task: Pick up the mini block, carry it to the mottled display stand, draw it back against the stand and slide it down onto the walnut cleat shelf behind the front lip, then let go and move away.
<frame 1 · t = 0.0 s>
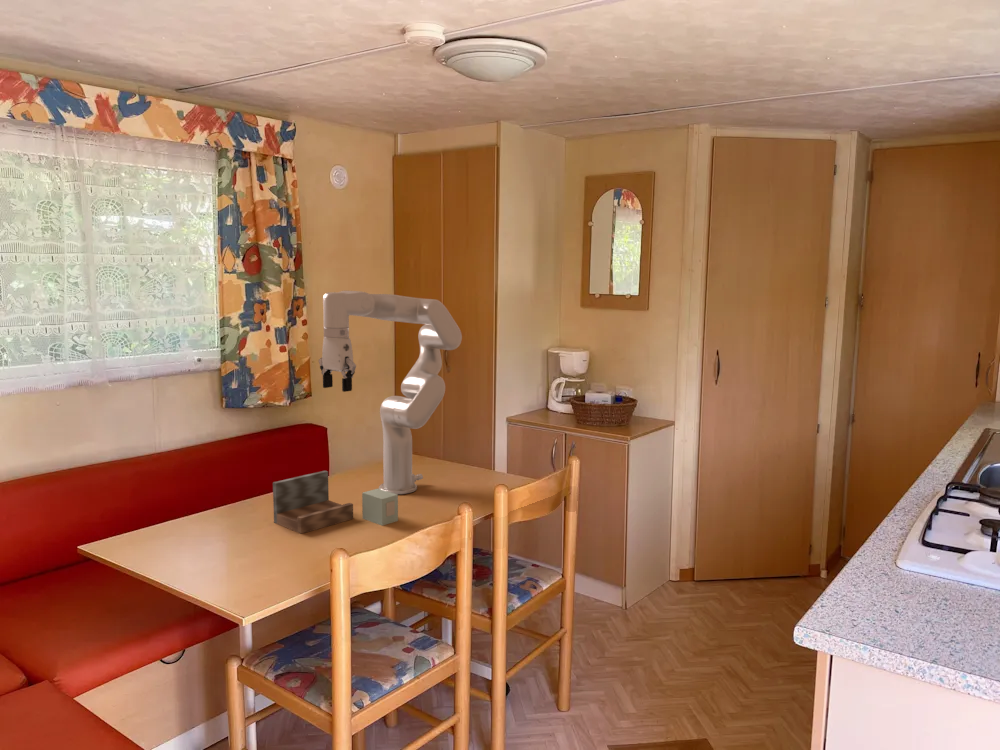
hand: (337, 389, 237), 37 cm above the table, fingers open, 9 cm apart
mini block: (380, 519, 229), on the table
mottled display stand: (310, 519, 228), on the table
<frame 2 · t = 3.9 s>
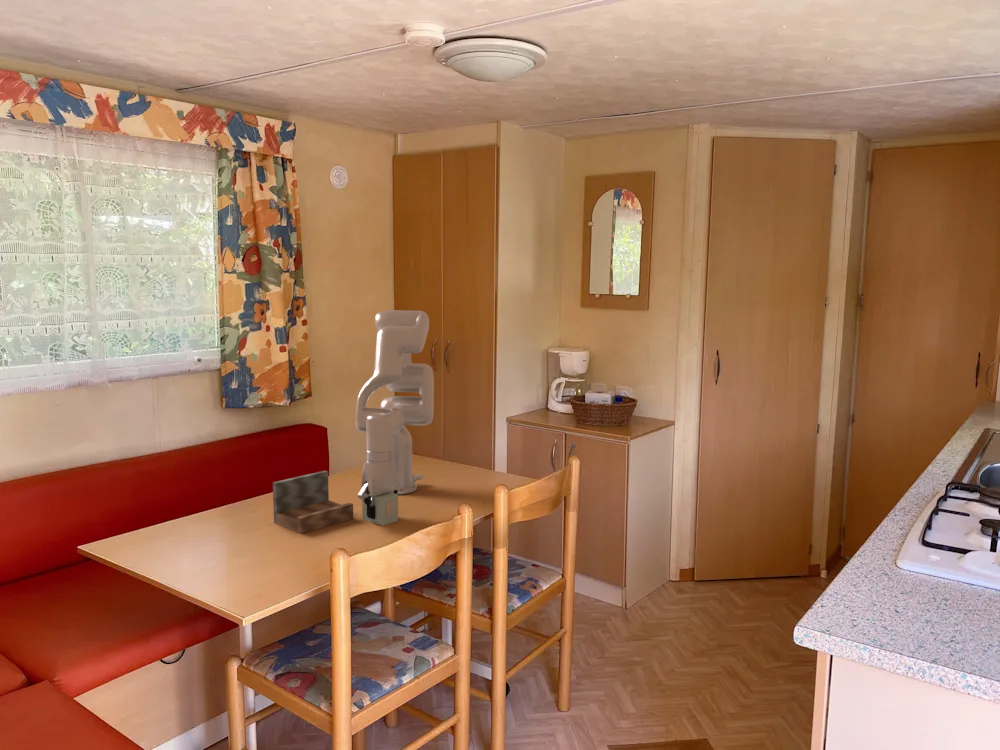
hand: (380, 514, 229), 1 cm above the table, fingers closed on mini block, 6 cm apart
mini block: (380, 519, 229), on the table, touching gripper
when the fingers open (5 cm above the table, at t = 9.6 s): mini block stays where it is, resting on mottled display stand.
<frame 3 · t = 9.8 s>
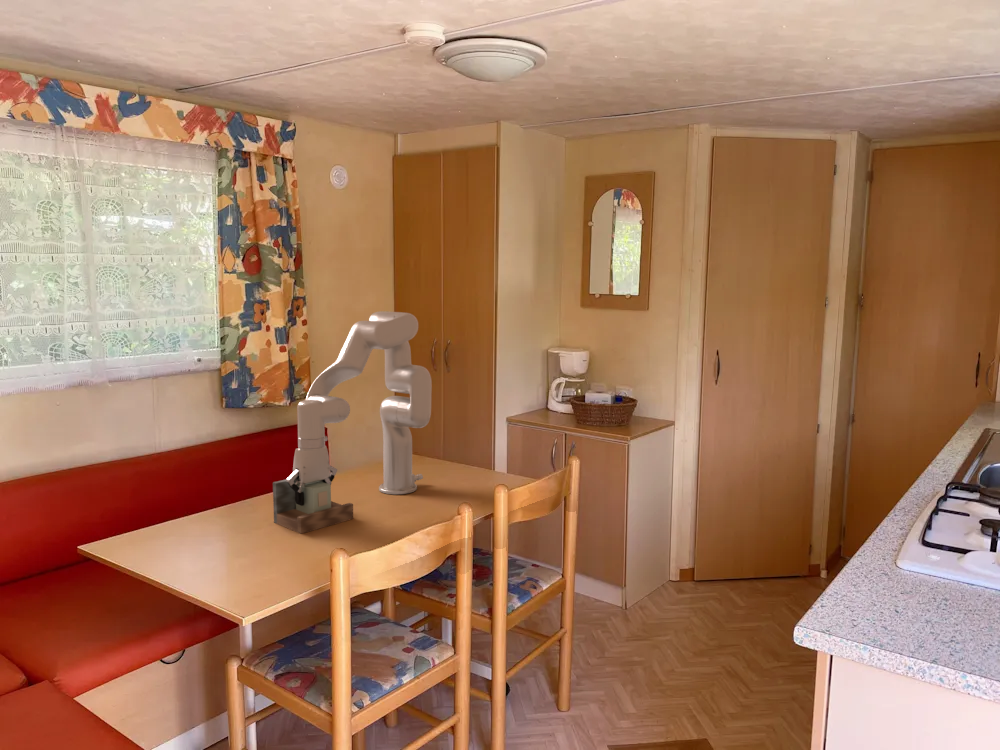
hand: (312, 501, 227), 6 cm above the table, fingers open, 8 cm apart
mini block: (313, 510, 227), point 3 cm above the table, touching mottled display stand
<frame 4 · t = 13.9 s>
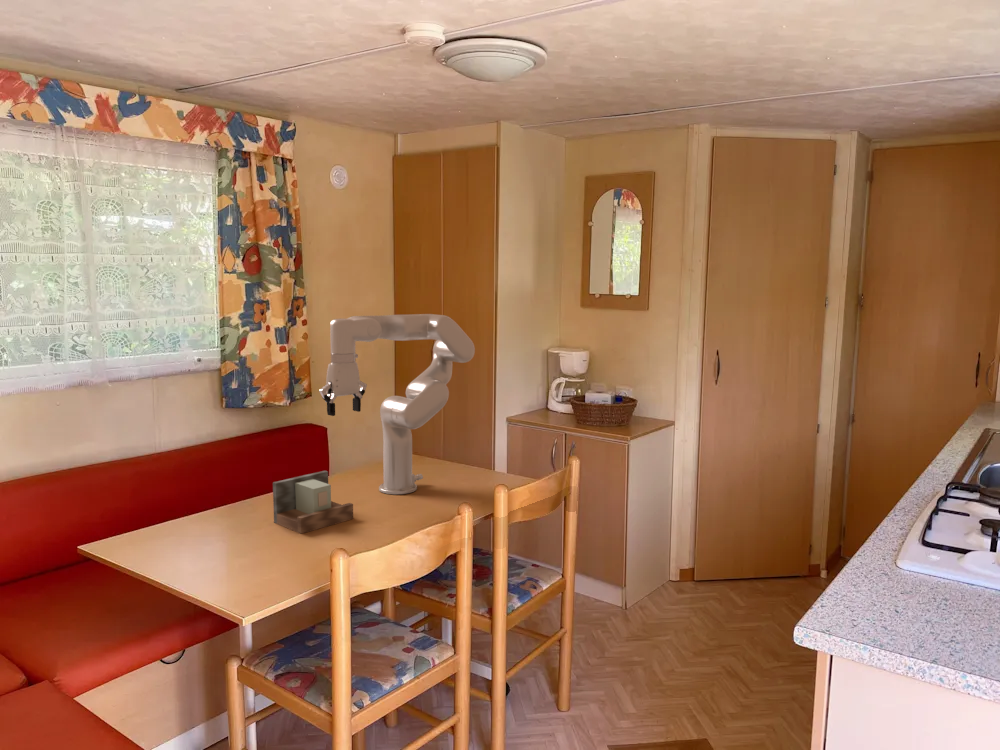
hand: (344, 413, 242), 28 cm above the table, fingers open, 9 cm apart
nothing on the table moved.
at the end: mini block inside the target area on the mottled display stand (0.5 cm from its centre), point 3.0 cm above the mottled display stand's base; the gripper is holding nothing; mini block tilted 0° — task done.
